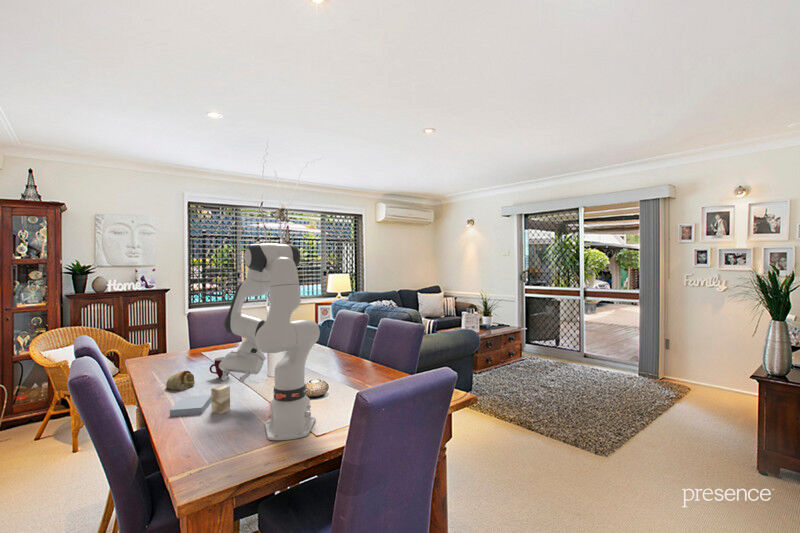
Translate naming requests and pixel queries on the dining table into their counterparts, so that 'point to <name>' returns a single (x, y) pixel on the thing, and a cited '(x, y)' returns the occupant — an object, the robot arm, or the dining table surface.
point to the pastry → (180, 381)
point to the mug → (217, 367)
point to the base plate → (190, 405)
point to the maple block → (220, 399)
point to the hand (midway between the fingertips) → (231, 380)
